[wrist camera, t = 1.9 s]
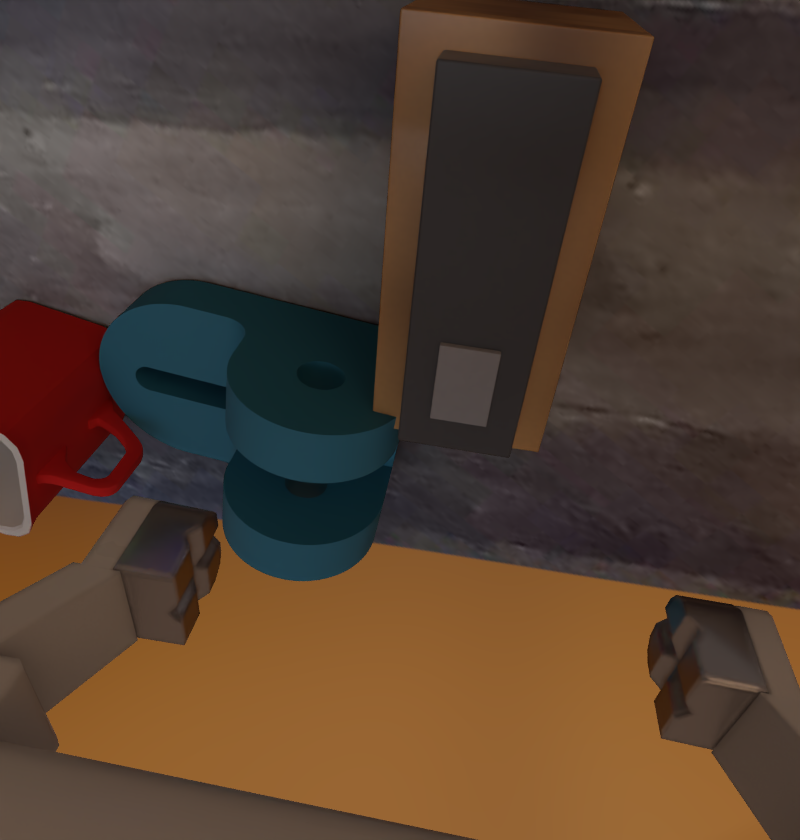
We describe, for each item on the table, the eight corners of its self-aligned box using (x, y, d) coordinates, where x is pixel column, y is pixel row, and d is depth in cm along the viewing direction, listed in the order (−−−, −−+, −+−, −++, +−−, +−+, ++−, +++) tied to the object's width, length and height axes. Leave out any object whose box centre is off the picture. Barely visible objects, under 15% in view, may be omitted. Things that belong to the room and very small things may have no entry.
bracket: (424, 337, 36) (394, 455, 28) (391, 470, 43) (358, 598, 35) (118, 260, 37) (-2, 355, 28) (130, 404, 43) (36, 516, 35)
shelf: (624, 11, 26) (655, 36, 20) (536, 363, 37) (538, 452, 30) (430, -10, 27) (400, 7, 20) (398, 342, 37) (371, 425, 31)
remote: (597, 67, 21) (604, 79, 19) (510, 431, 30) (509, 462, 28) (442, 49, 21) (435, 59, 19) (404, 414, 30) (396, 444, 28)
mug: (15, 391, 44) (-108, 497, 36) (1, 287, 39) (-146, 382, 31) (182, 446, 45) (98, 564, 36) (189, 350, 40) (94, 461, 31)
